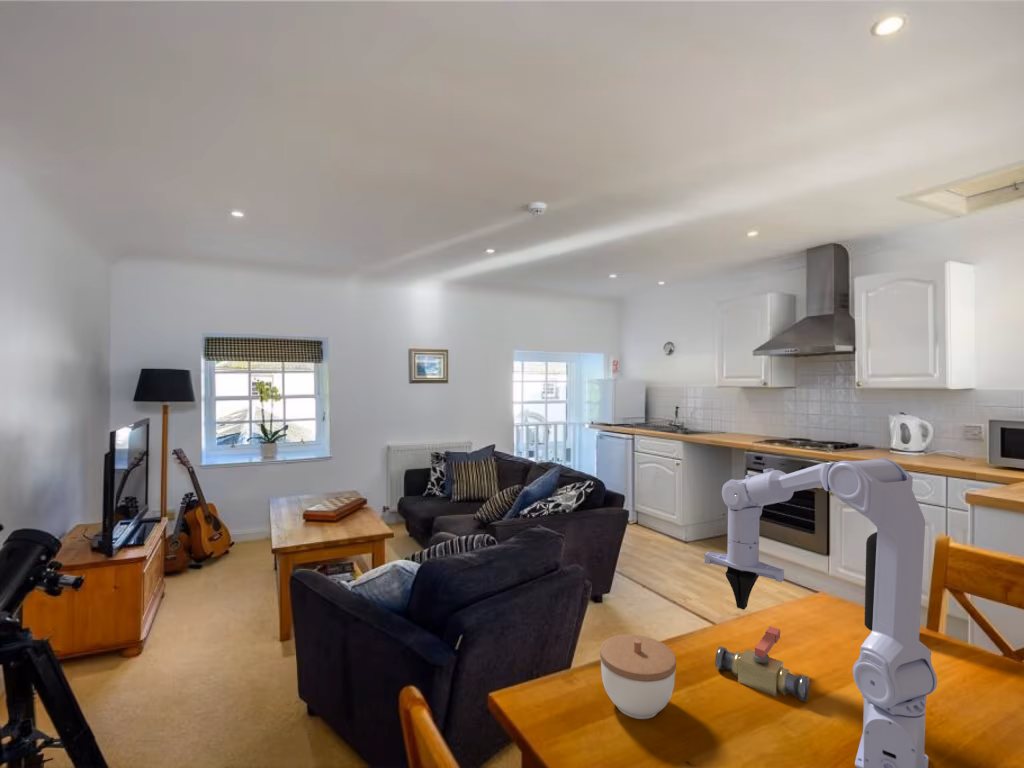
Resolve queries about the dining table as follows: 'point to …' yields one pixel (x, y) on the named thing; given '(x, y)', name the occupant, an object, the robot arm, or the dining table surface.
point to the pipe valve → (762, 674)
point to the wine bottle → (870, 579)
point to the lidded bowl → (637, 674)
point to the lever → (766, 645)
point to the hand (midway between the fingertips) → (741, 607)
